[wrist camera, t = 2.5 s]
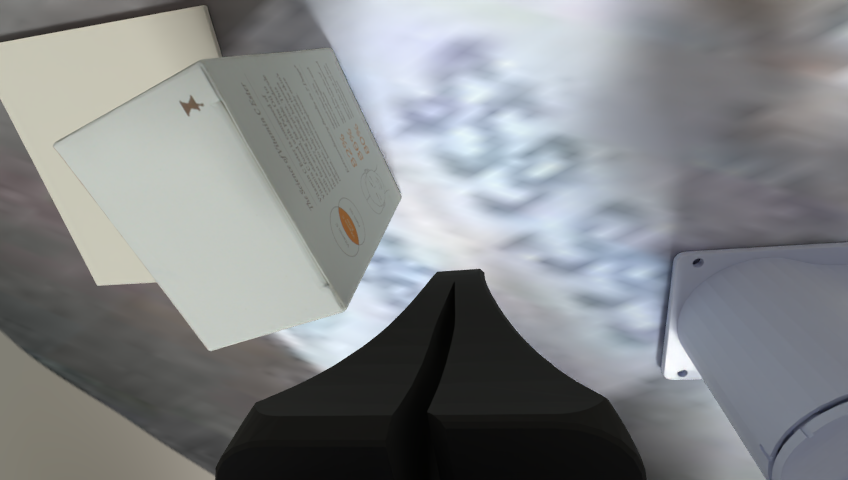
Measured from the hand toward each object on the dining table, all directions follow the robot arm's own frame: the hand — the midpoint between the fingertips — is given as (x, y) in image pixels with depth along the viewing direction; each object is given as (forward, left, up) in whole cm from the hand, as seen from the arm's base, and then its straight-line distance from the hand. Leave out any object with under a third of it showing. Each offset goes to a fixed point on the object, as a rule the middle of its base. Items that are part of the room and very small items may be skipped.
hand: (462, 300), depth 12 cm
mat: (+18, -3, -11) cm, 21 cm away
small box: (+7, -3, -11) cm, 13 cm away
